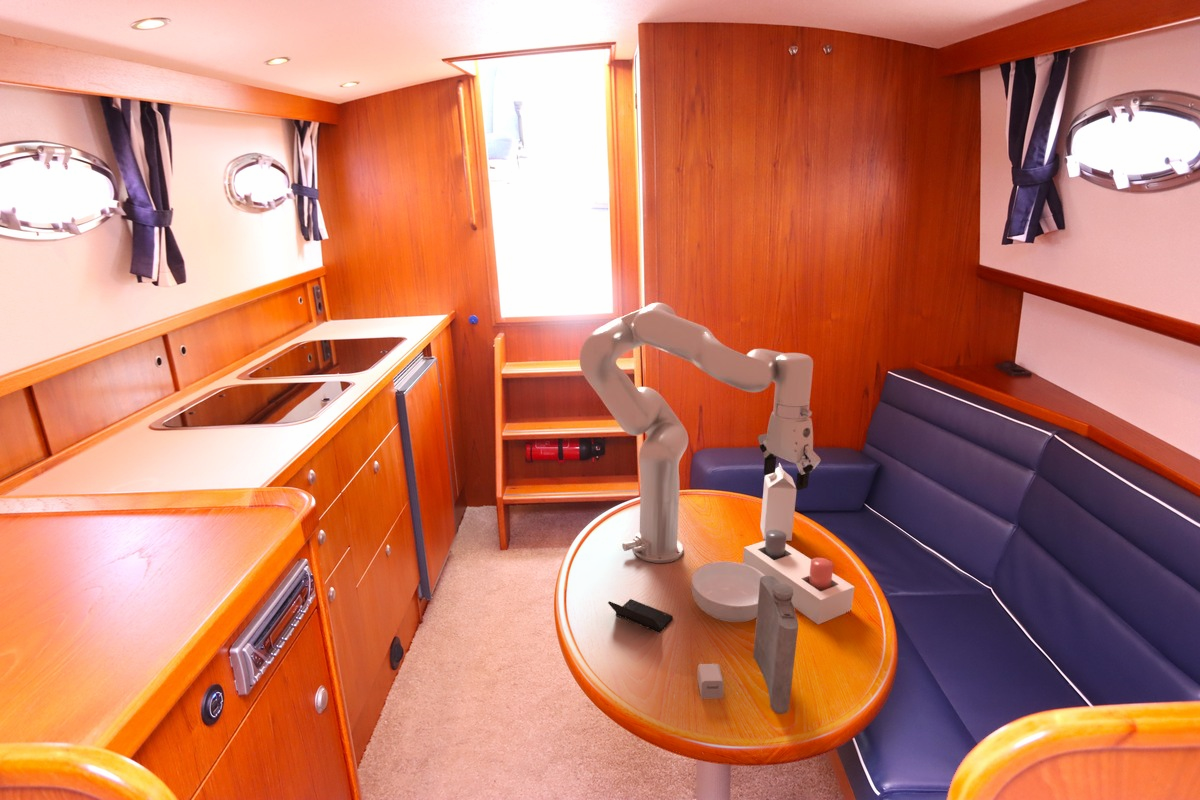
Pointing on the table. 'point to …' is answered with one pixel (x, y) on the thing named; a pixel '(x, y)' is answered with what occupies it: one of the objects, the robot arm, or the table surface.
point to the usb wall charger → (710, 681)
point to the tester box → (802, 583)
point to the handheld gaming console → (643, 615)
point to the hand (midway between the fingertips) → (785, 480)
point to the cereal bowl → (727, 590)
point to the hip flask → (776, 640)
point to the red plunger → (820, 573)
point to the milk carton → (778, 503)
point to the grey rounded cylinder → (775, 544)
